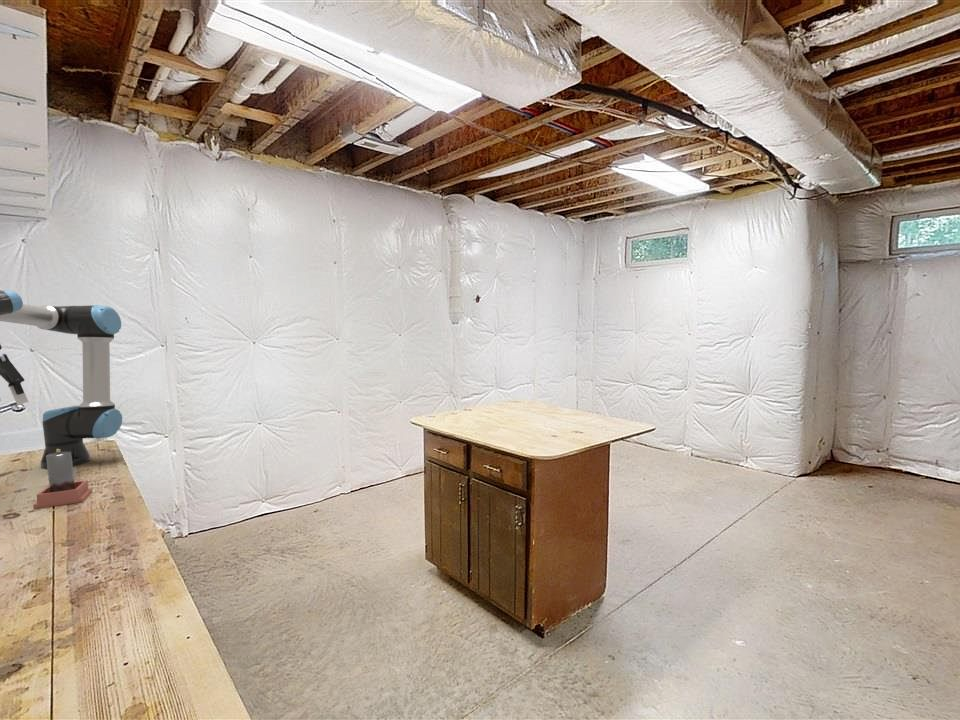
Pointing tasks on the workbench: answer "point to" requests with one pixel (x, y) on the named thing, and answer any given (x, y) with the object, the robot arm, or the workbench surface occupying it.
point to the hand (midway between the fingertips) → (9, 402)
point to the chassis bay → (63, 495)
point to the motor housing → (60, 471)
